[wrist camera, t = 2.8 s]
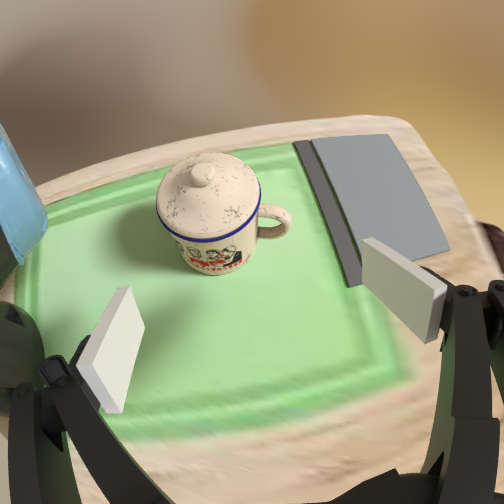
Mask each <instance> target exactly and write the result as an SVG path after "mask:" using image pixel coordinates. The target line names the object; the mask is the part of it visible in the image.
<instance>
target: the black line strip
mask: <svg viewBox="0 0 504 504" xmlns="http://www.w3.org/2000/svg"><path fill="white" fill-rule="evenodd" d="M294 144H295V147H296V149H297V151H298V154H299V156H300V158H301V160H302V163H303V165H304V168H305V170H306V172H307V175H308V177H309V180H310V182H311V184H312V187H313V189H314V192H315V194H316V197H317V199H318V202H319V205H320V207H321V210H322V212H323V215H324V218H325V220H326V223H327V226H328V228H329V231H330V234H331V236H332V239H333V242H334V245H335V248H336V250H337V253H338V256H339V259H340V262H341V265H342V268H343V271H344V274H345V277H346V280H347V283H348V286H349V288H350V287H354V286H357V285H361V284H363V283H362V268H361V265H360V263H359V260H358V257H357V254H356V252H355V249H354V246H353V244H352V241H351V238H350V236H349V233H348V231H347V228H346V226H345V223H344V221H343V218H342V216H341V213H340V211H339V208H338V206H337V203H336V201H335V199H334V196H333V194H332V192H331V189H330V187H329V185H328V182H327V180H326V178H325V176H324V174H323V171H322V169H321V167H320V165H319V163H318V160H317V158H316V156H315V154H314V152H313V150H312V148H311V146H310V143H309V141H308V140H304V141H295V142H294Z"/></svg>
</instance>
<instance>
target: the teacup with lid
mask: <svg viewBox="0 0 504 504" xmlns="http://www.w3.org/2000/svg"><path fill="white" fill-rule="evenodd" d="M260 201H261V188H260V184H259V181H258V179H257V177H256V175H255V174H254V172H253V171H252V169H251V168H250V167H249V166H248V165H247V164H245V163H244V162H243V161H241V160H240V159H238V158H236V157H233V156H231V155H227V154H222V153H203V154H198V155H194V156H192V157H189V158H187V159H185V160H183V161H181V162H179V163H178V164H176V165H175V166H174V167H173V168H172V169H170V170H169V171H168V173H167V174H166V175H165V176H164V178H163V180H162V181H161V183H160V185H159V188H158V191H157V196H156V210H157V214H158V217H159V219H160V221H161V223H162V224H163V225H164V227H165V228H166V229H167V230H168V231H169V232H170V234H171V236H172V238H173V240H174V241H175V243H176V245H177V247H178V249H179V251H180V253H181V254H182V256H183V258H184V260H185V261H186V262H187V263H188V264H189V265H190V266H191V267H192V268H194V269H195V270H197V271H199V272H201V273H204V274H209V275H223V274H228V273H231V272H234V271H236V270H238V269H239V268H241V267H242V266H243V265H245V264H246V263H247V262H248V261H249V260H250V258H251V257H252V255H253V253H254V251H255V249H256V246H257V240H258V239H276V238H279V237H282V236H284V235H285V234H287V233H288V232H289V230H290V228H291V223H292V218H291V215H290V214H289V213H288V212H287V211H286V210H285V209H283V208H281V207H278V206H275V205H269V204H260ZM258 217H265V218H272V219H275V220H278V221H280V222H281V224H280V225H278V226H275V227H259V226H258Z"/></svg>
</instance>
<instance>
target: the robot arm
mask: <svg viewBox="0 0 504 504" xmlns="http://www.w3.org/2000/svg"><path fill="white" fill-rule="evenodd" d="M47 225H48V216H47V212H46V209H45V207H44V205H43V203H42V201H41V199H40V197H39V195H38V193H37V191H36V189H35V187H34V186H33V184H32V182H31V180H30V178H29V176H28V174H27V173H26V171H25V169H24V167H23V165H22V163H21V161H20V159H19V157H18V155H17V154H16V152H15V150H14V148H13V146H12V144H11V142H10V140H9V138H8V136H7V134H6V132H5V131H4V129H3V127H2V125H1V124H0V289H1V288H2V287H3V285H4V284H5V283H6V281H7V280H8V279H9V278H10V276H11V275H12V274H13V273H14V271H15V270H16V269H17V268H18V266H19V265H21V266H23V264H24V263H25V258H26V257H27V256H28V254H29V253H30V252H31V251H32V249H33V248H34V247H35V246H36V244H37V243H38V242H39V241H40V240H41V238H42V237H43V236H44V234H45V232H46V229H47ZM361 245H362V283H363V284H364V285H365V286H366V287H367V288H368V289H369V290H370V291H371V292H372V293H373V294H374V295H376V296H377V297H378V298H379V299H380V300H381V301H382V302H383V303H384V304H385V305H386V306H387V307H388V308H389V309H390V310H391V311H392V312H393V313H394V314H395V315H396V316H397V317H398V318H399V319H400V320H401V321H402V322H403V323H404V324H405V325H406V326H407V327H408V328H409V329H410V330H411V331H412V332H413V333H414V334H415V335H416V336H417V337H418V338H419V339H420V340H421V341H422V342H423V343H424V344H427V343H429V342H431V341H433V340H436V339H437V337H438V333H439V329H440V328H441V329H442V330H443V331H444V337H443V341H442V345H441V348H440V352H442V362H441V373H440V383H439V391H438V398H437V405H436V411H435V417H434V423H433V428H432V433H431V438H430V443H429V447H428V451H427V455H426V459H425V462H424V465H423V467H422V469H421V472H420V473H407V474H400V475H399V474H398V472H397V470H396V469H395V468H394V469H392V470H390V471H388V472H385V473H383V474H381V475H378V476H376V477H373V478H371V479H368V480H366V481H363V482H362V483H360V484H358V485H357V486H355V487H354V488H352V489H351V490H349V491H347V492H346V493H344V494H342V495H340V496H339V497H337V498H335V499H334V500H332V501H329V502H321V503H304V504H504V494H501V493H496V492H494V490H495V484H496V476H497V467H498V457H499V441H500V422H499V419H498V418H493V417H492V386H491V370H490V365H491V368H492V371H493V373H494V376H495V379H496V382H497V385H498V388H499V391H500V394H501V397H502V401H503V404H504V281H503V280H493V281H491V282H490V283H489V287H488V291H484V292H478V290H477V289H475V288H474V287H472V286H469V285H458V286H454V285H453V284H451V283H450V282H448V281H447V280H445V279H444V278H442V277H440V276H439V275H438V274H435V272H433V271H432V270H430V269H429V268H426V267H422V266H418V265H416V264H415V263H413V262H412V261H410V260H409V259H407V258H405V257H404V256H402V255H401V254H399V253H398V252H396V251H394V250H393V249H391V248H389V247H388V246H386V245H385V244H383V243H381V242H380V241H378V240H376V239H375V238H373V237H371V238H366V239H362V240H361ZM144 330H145V326H144V323H143V321H142V318H141V315H140V313H139V310H138V307H137V304H136V302H135V299H134V296H133V293H132V290H131V288H130V286H125V287H120V288H117V290H116V292H115V293H114V295H113V297H112V299H111V300H110V302H109V304H108V306H107V307H106V309H105V311H104V313H103V314H102V316H101V318H100V320H99V322H98V324H97V325H96V327H95V329H94V331H93V333H92V335H87V336H86V337H85V338H84V339H83V340H82V341H81V342H80V344H79V346H78V348H77V350H76V352H75V354H74V356H73V357H72V359H71V361H70V363H69V365H68V364H67V362H66V361H65V359H64V357H63V356H61V355H53V356H50V357H48V358H47V359H45V357H44V349H43V344H42V340H41V336H40V334H39V331H38V328H37V326H36V324H35V322H34V321H33V319H32V318H31V316H30V315H29V314H28V313H27V312H26V311H25V310H23V309H22V308H20V307H18V306H16V305H14V304H12V303H9V302H6V301H0V416H3V417H9V432H8V470H9V487H10V498H11V504H82V502H81V499H80V495H79V492H78V488H77V484H76V480H75V476H74V472H73V468H72V463H71V458H70V453H69V448H68V443H67V437H66V431H67V432H68V434H69V436H70V438H71V440H72V442H73V444H74V446H75V448H76V449H77V451H78V453H79V455H80V457H81V458H82V460H83V462H84V464H85V465H86V467H87V469H88V470H89V472H90V474H91V475H92V477H93V479H94V480H95V482H96V483H97V485H98V486H99V488H100V489H101V491H102V492H103V494H104V495H105V497H106V498H107V500H108V501H109V503H110V504H175V503H174V502H173V501H172V500H171V499H170V498H169V497H168V496H167V495H166V494H165V493H164V492H163V491H162V490H161V489H160V488H159V487H158V486H157V484H156V483H155V482H154V481H153V480H152V479H151V478H150V477H149V476H148V475H147V474H146V472H145V471H144V470H143V469H142V468H141V467H140V466H139V464H138V463H137V462H136V461H135V460H134V458H133V457H132V456H131V455H130V454H129V452H128V451H127V450H126V449H125V447H124V446H123V445H122V443H121V442H120V441H119V440H118V438H117V437H116V436H115V434H114V433H113V432H112V430H111V429H110V427H109V426H108V425H107V423H106V422H105V420H104V419H103V418H102V416H101V415H100V413H99V412H98V411H99V408H100V405H101V406H102V408H103V409H104V410H105V412H106V413H107V414H111V413H122V412H123V407H124V403H125V399H126V395H127V391H128V387H129V383H130V379H131V375H132V372H133V368H134V364H135V361H136V357H137V353H138V350H139V346H140V343H141V340H142V336H143V333H144ZM44 382H45V384H46V385H47V387H46V388H43V384H44ZM42 388H43V389H42Z"/></svg>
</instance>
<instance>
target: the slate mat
mask: <svg viewBox="0 0 504 504" xmlns="http://www.w3.org/2000/svg"><path fill="white" fill-rule="evenodd" d="M311 142H312V144H313V147H314V149H315V151H316V153H317V155H318V157H319V159H320V161H321V163H322V165H323V168H324V170H325V172H326V174H327V176H328V179H329V181H330V183H331V185H332V188H333V190H334V192H335V194H336V197H337V199H338V201H339V204H340V206H341V209H342V211H343V213H344V216H345V218H346V221H347V223H348V226H349V228H350V231H351V233H352V236H353V238H354V241H355V244H356V246H357V249H358V252H359V254H360V257H361V260H362V245H361V240H362V239H366V238H371V237H373V238H375V239H376V240H378V241H380V242H381V243H383V244H385V245H386V246H388V247H389V248H391V249H393V250H394V251H396V252H398V253H399V254H401V255H402V256H404V257H405V258H407V259H409V260H410V261H415V260H419V259H422V258H425V257H429V256H432V255H436V254H439V253H442V252H446V251H449V250H450V246H449V244H448V242H447V240H446V237H445V235H444V233H443V231H442V229H441V226H440V224H439V222H438V220H437V218H436V216H435V214H434V212H433V210H432V208H431V206H430V204H429V202H428V200H427V198H426V197H425V195H424V193H423V191H422V189H421V187H420V186H419V184H418V182H417V180H416V178H415V177H414V175H413V173H412V171H411V170H410V168H409V166H408V165H407V163H406V161H405V160H404V158H403V157H402V155H401V153H400V152H399V150H398V149H397V147H396V145H395V144H394V142H393V141H392V139H391V138H390V136H389V135H388V134H376V135H356V136H342V137H329V138H318V139H311Z"/></svg>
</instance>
